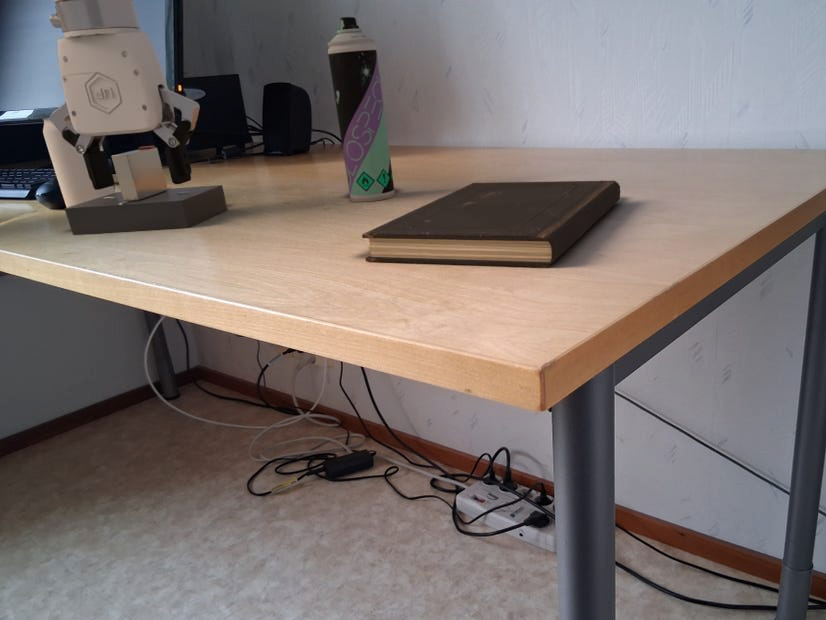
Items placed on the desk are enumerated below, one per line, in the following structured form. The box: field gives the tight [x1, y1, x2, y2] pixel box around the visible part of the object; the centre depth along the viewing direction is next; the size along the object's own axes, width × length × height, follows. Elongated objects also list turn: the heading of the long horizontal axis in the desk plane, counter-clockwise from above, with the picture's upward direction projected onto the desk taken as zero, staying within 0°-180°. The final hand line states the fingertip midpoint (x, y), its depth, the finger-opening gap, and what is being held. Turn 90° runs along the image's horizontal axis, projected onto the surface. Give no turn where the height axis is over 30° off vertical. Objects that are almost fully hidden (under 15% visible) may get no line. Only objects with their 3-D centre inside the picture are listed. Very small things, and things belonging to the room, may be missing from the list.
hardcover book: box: [361, 180, 621, 268], centre depth 63 cm, size 16×23×2 cm
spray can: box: [327, 16, 396, 203], centre depth 82 cm, size 6×6×20 cm
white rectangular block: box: [111, 145, 168, 201], centre depth 80 cm, size 6×2×5 cm, turn 174°
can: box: [42, 117, 116, 208], centre depth 95 cm, size 6×6×12 cm
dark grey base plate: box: [64, 184, 228, 236], centre depth 82 cm, size 14×11×3 cm
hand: (143, 185), depth 81 cm, fingers open, 9 cm apart
